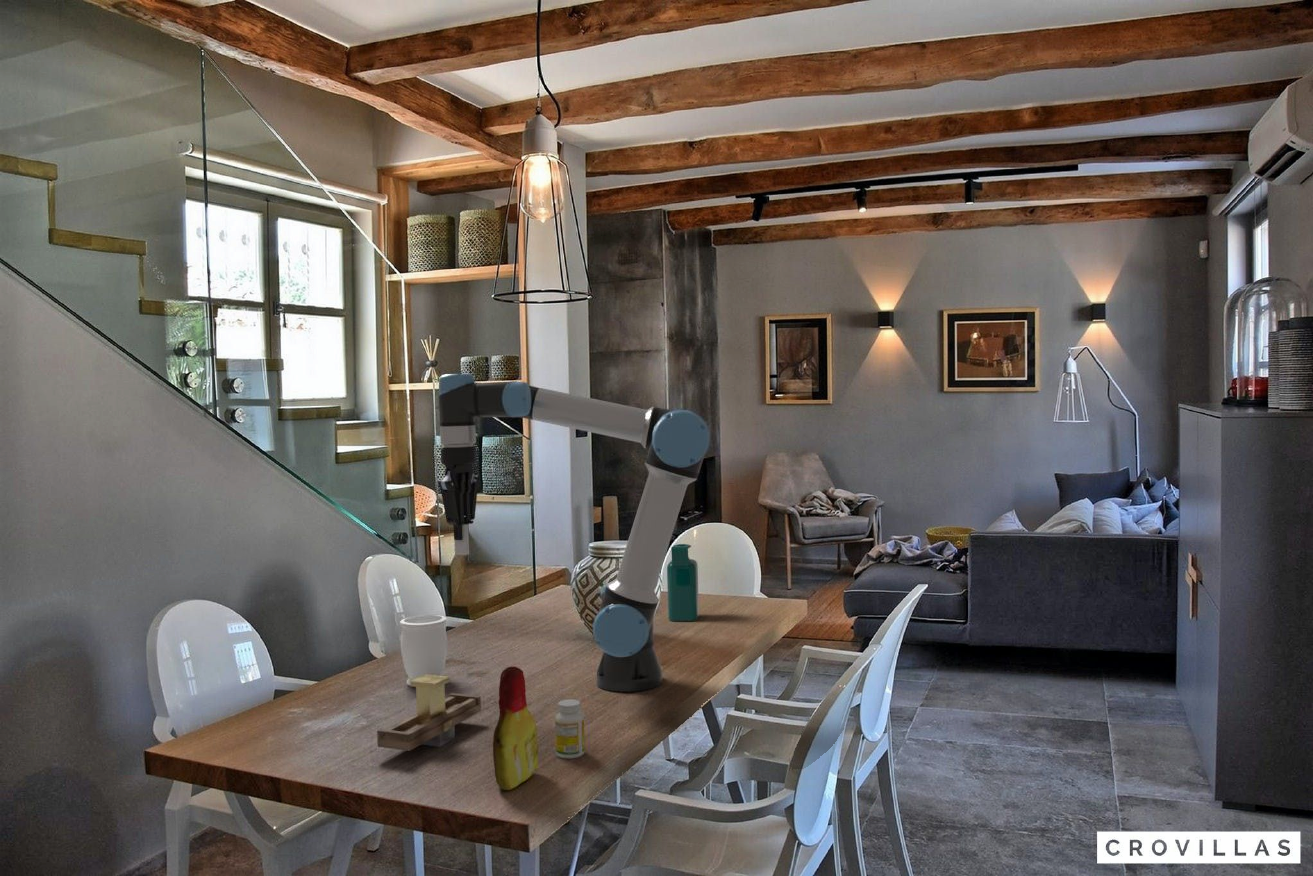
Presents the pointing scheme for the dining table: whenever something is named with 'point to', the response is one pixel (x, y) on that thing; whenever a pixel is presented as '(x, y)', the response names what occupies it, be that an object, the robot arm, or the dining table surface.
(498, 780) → the bottle
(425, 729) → the brown long rectangular frame
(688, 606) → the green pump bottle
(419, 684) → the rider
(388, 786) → the dining table surface
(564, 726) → the supplement bottle
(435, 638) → the jar
